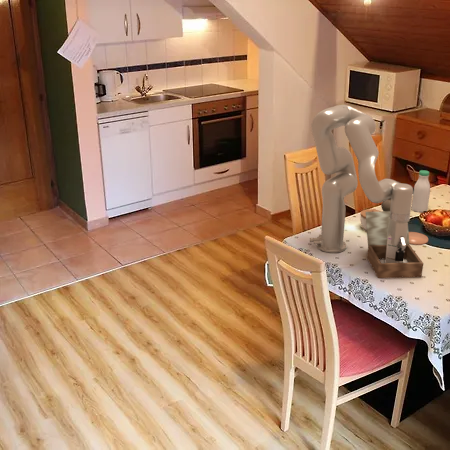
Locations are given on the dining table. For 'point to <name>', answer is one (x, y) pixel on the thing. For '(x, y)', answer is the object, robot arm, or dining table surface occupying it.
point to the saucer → (417, 238)
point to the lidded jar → (363, 216)
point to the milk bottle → (421, 192)
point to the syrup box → (391, 252)
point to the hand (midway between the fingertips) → (395, 255)
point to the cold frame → (378, 246)
